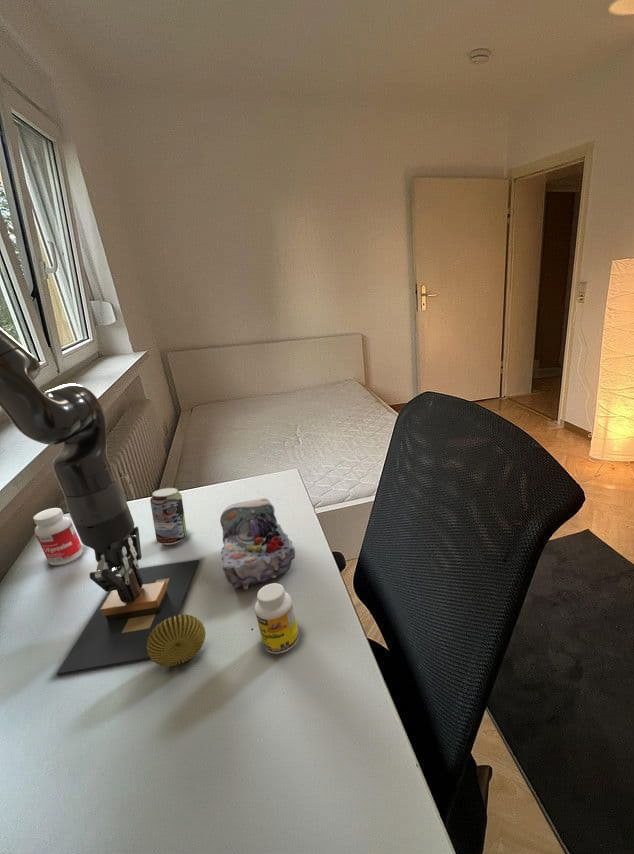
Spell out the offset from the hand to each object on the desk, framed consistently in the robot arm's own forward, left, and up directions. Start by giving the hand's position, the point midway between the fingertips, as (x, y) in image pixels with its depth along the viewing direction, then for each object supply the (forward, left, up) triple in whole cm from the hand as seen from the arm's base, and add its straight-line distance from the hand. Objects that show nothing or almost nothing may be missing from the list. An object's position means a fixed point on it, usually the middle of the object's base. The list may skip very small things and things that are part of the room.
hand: (133, 593), depth 78 cm
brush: (0, 0, -3) cm, 3 cm away
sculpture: (+11, -13, -4) cm, 18 cm away
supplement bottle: (+26, -13, -4) cm, 29 cm away
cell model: (+19, +9, -4) cm, 22 cm away
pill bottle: (-22, +21, -4) cm, 31 cm away
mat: (0, 0, -4) cm, 4 cm away
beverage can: (0, +22, -4) cm, 22 cm away
